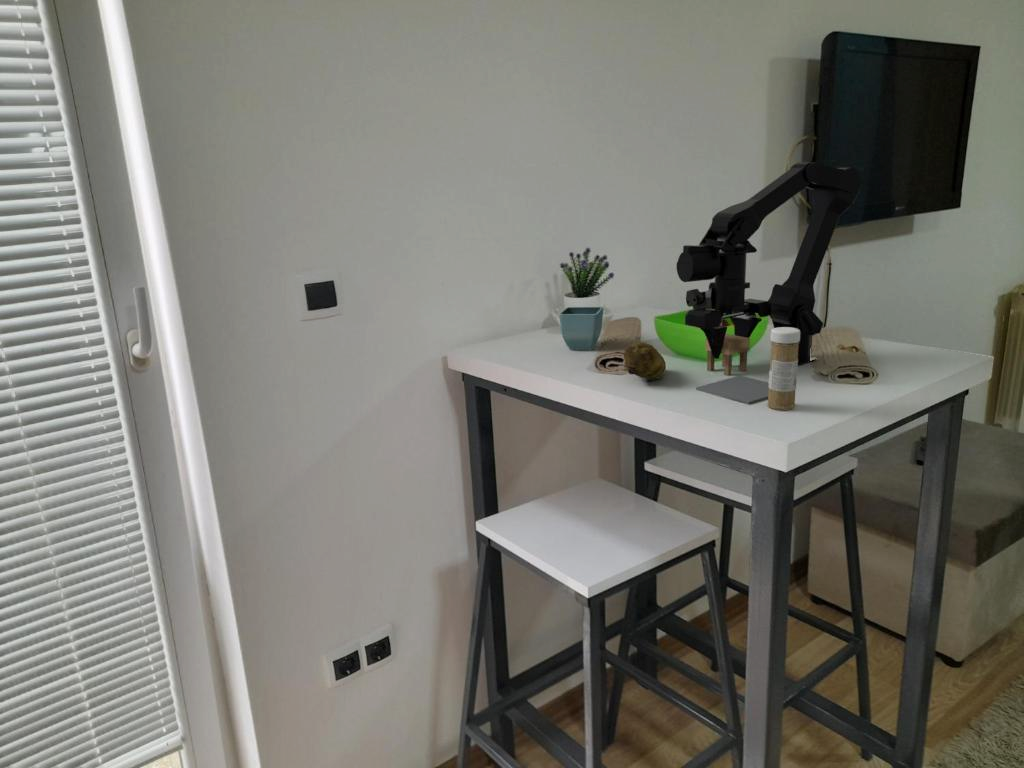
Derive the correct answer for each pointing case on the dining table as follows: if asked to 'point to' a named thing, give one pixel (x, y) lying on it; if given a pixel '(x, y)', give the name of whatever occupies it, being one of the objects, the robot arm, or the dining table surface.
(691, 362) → the dining table surface
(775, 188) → the robot arm
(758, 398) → the mat
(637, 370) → the potato
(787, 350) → the spice jar
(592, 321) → the flower pot
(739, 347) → the stool
